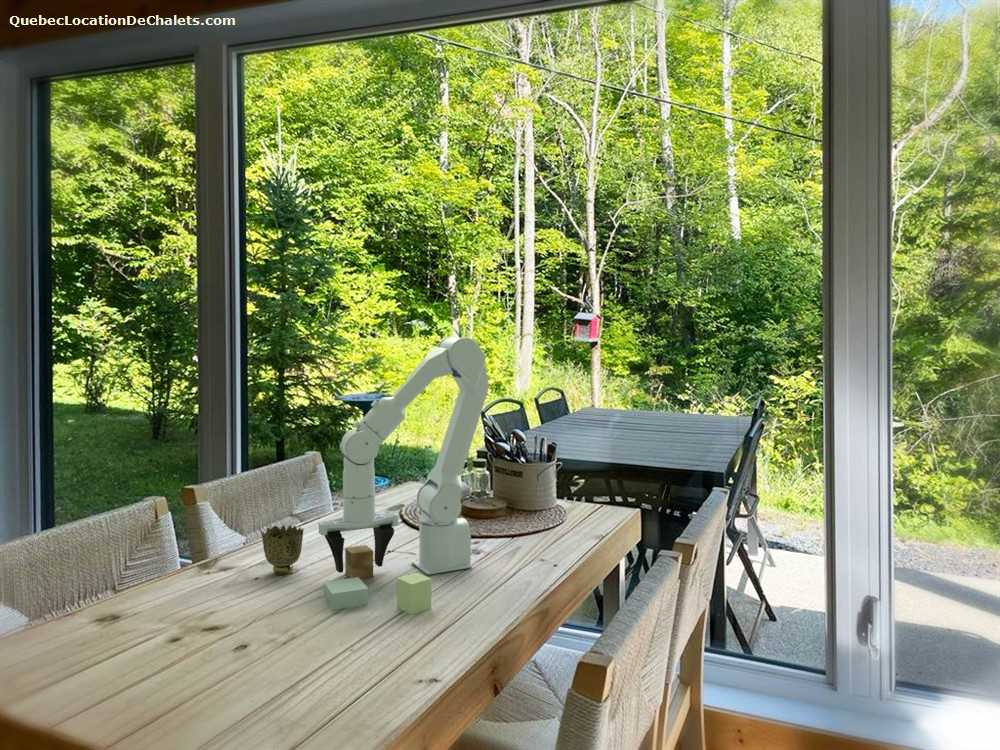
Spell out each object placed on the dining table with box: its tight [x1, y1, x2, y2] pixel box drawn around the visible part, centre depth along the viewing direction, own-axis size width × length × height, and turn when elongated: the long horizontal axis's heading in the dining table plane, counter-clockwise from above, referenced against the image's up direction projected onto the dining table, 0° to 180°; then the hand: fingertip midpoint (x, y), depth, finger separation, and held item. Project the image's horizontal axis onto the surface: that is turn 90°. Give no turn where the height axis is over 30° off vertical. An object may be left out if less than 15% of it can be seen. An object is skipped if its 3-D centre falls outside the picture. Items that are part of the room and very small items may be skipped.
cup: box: [261, 524, 304, 575], centre depth 141 cm, size 8×7×8 cm
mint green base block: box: [323, 577, 369, 611], centre depth 128 cm, size 6×6×3 cm
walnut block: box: [344, 544, 374, 580], centre depth 140 cm, size 4×4×5 cm
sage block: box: [396, 572, 432, 615], centre depth 125 cm, size 4×4×5 cm
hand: (359, 567), depth 140 cm, fingers open, 7 cm apart
